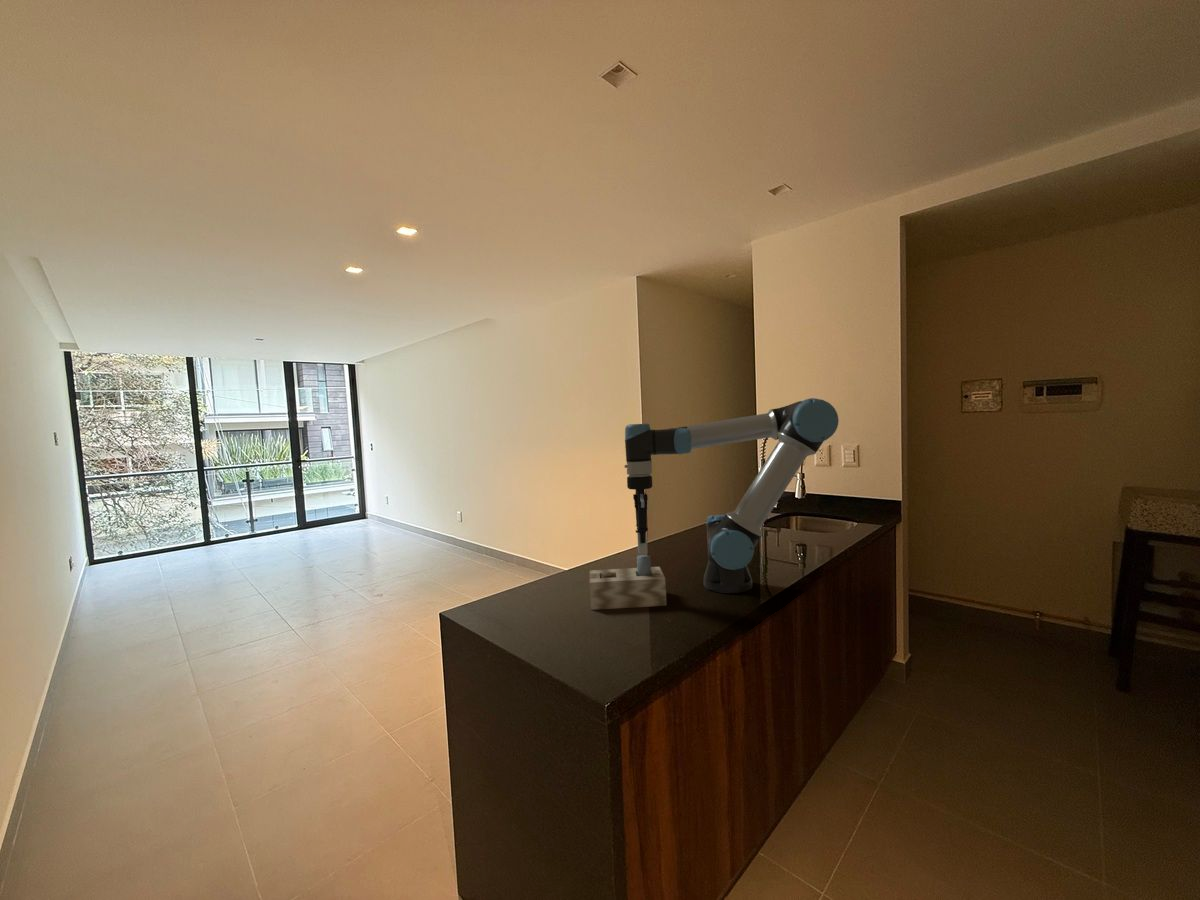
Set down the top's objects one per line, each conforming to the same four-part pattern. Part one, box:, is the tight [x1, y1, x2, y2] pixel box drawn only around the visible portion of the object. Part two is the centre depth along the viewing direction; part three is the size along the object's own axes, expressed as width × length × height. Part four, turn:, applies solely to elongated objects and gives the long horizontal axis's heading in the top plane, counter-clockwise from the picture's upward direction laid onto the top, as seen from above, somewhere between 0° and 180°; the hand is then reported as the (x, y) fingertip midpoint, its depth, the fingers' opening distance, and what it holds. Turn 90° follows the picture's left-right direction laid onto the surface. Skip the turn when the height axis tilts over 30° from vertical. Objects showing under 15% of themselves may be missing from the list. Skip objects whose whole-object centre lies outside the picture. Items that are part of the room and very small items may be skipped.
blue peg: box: [636, 554, 652, 576], centre depth 144 cm, size 4×4×8 cm
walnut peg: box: [601, 572, 615, 578], centre depth 144 cm, size 4×4×8 cm
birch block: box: [589, 566, 668, 611], centre depth 144 cm, size 22×12×8 cm, turn 91°
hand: (642, 552), depth 144 cm, fingers closed
